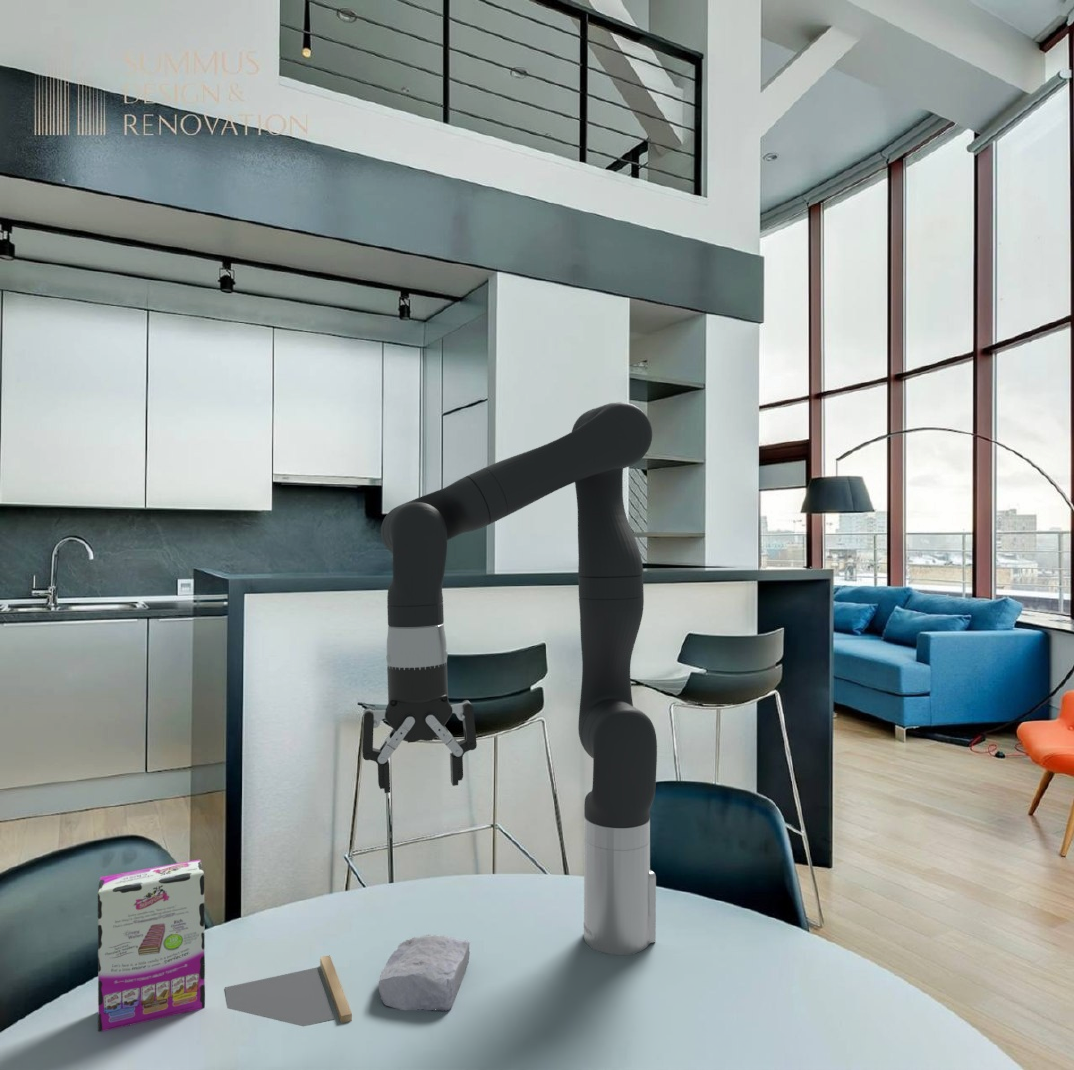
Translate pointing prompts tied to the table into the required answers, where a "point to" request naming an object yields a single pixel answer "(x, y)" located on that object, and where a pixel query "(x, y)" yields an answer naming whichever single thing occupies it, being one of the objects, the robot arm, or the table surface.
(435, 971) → the stone block
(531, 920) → the table surface
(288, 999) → the mat
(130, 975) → the candy bar box
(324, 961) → the strip
